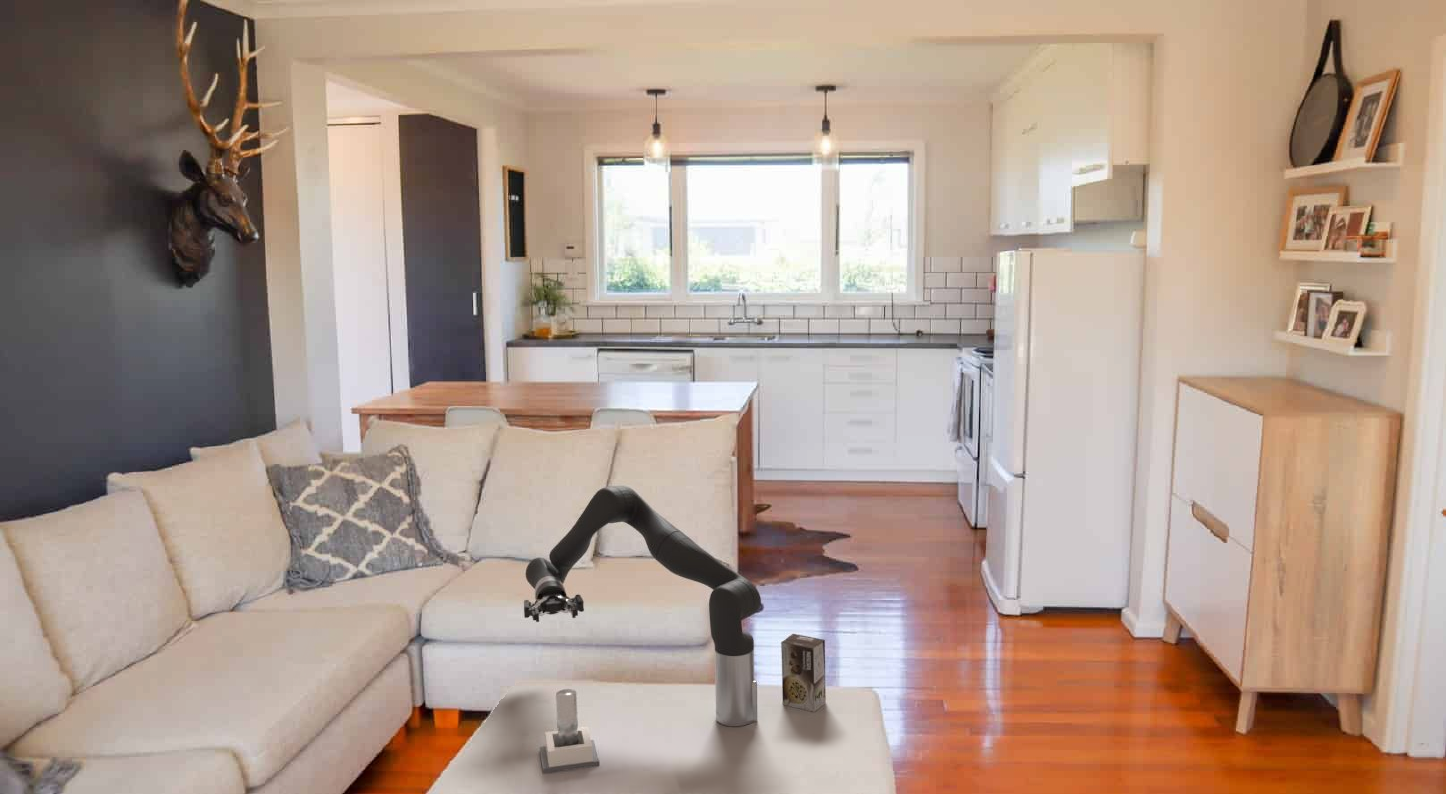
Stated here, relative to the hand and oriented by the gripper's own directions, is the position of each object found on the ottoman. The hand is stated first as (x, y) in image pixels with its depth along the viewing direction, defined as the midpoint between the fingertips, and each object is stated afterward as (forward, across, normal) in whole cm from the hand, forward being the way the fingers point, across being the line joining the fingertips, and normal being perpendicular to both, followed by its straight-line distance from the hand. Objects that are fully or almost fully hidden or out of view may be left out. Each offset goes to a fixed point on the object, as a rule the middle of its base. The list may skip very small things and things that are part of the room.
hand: (555, 615), depth 242 cm
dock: (+21, 0, +25) cm, 33 cm away
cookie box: (+10, +58, +26) cm, 64 cm away
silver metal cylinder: (+21, 0, +24) cm, 32 cm away
